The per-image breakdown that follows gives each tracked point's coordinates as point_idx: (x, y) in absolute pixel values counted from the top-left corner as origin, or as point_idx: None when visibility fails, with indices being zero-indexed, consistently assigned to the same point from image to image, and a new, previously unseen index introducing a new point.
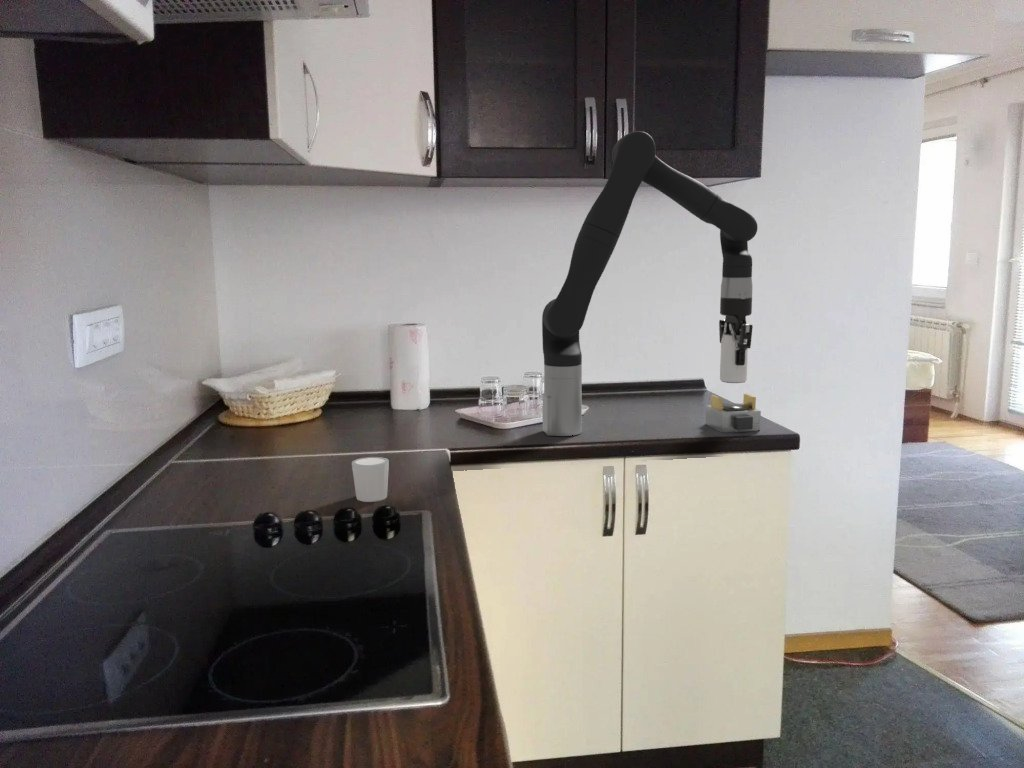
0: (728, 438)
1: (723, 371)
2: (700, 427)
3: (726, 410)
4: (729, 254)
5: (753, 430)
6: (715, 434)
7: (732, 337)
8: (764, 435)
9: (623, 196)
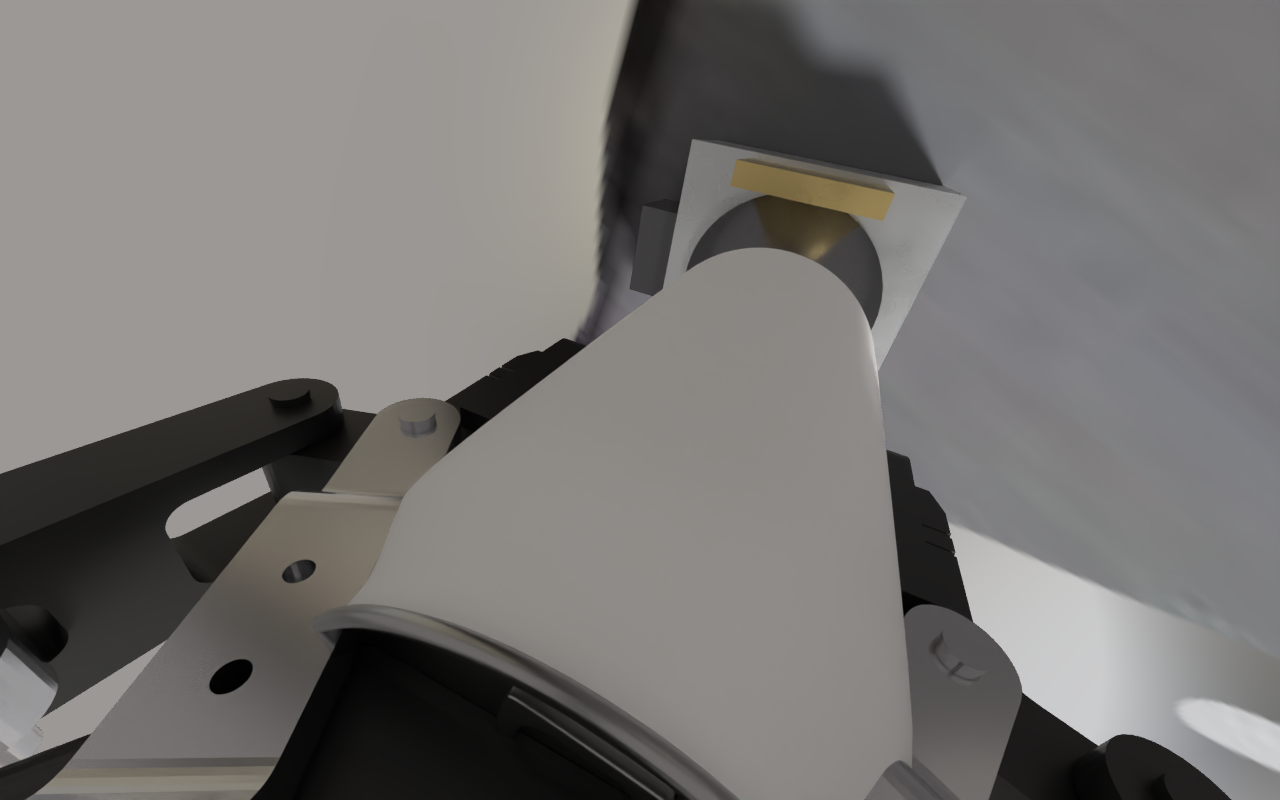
0: (616, 95)
1: (732, 264)
2: (893, 96)
3: (733, 206)
4: None
5: None
6: (708, 79)
7: (349, 555)
8: (608, 286)
9: None
